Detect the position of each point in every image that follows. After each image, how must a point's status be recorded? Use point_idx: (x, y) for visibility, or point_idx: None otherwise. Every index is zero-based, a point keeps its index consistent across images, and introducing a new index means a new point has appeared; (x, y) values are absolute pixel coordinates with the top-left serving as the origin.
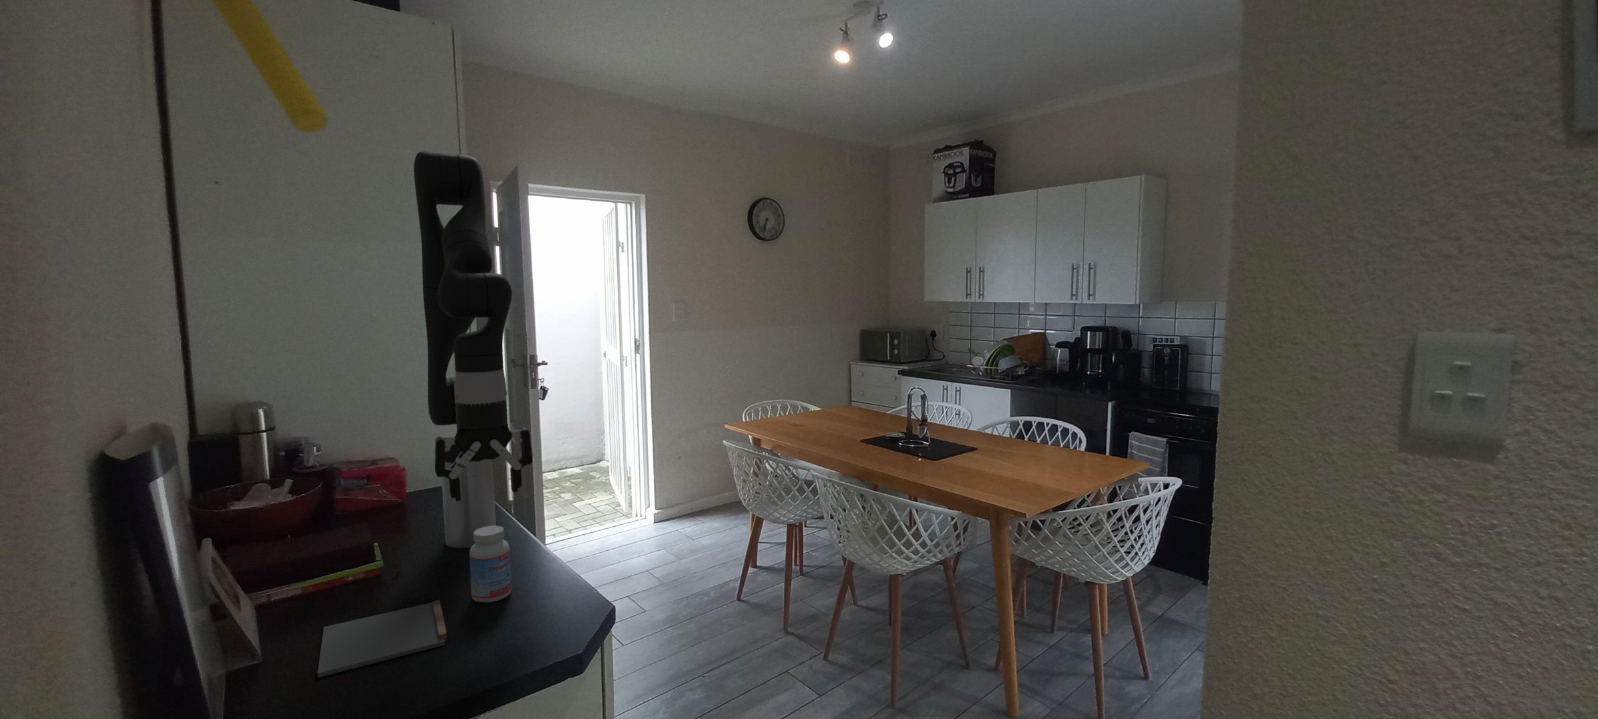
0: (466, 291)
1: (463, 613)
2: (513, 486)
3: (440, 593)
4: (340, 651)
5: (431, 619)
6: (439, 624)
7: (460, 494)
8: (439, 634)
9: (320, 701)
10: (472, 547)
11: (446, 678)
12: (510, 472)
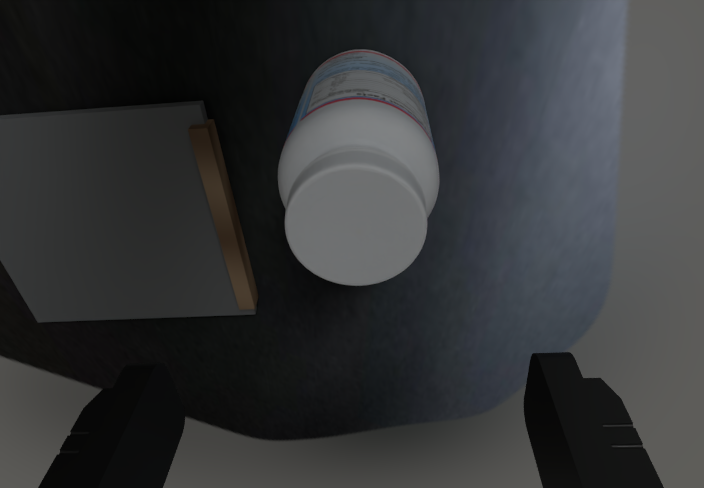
0: None
1: None
2: (535, 454)
3: (195, 5)
4: (40, 265)
5: (206, 210)
6: (232, 266)
7: (172, 460)
8: (240, 306)
9: (86, 376)
10: (287, 196)
11: (272, 397)
12: (580, 481)
